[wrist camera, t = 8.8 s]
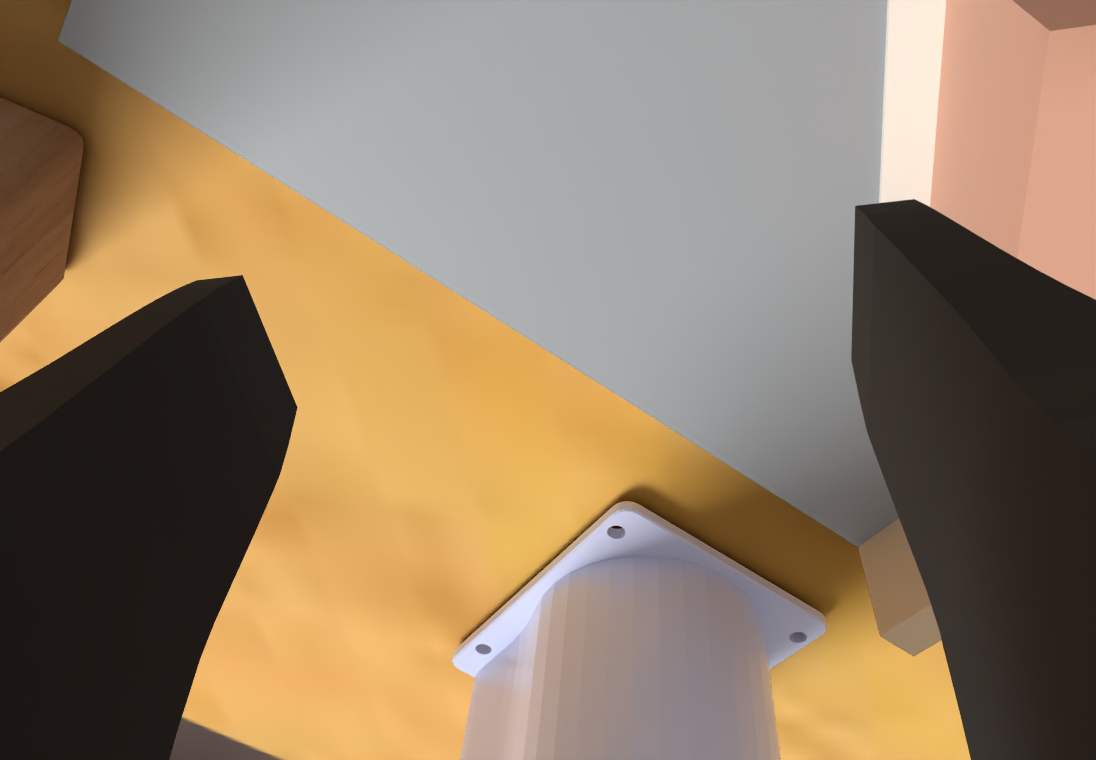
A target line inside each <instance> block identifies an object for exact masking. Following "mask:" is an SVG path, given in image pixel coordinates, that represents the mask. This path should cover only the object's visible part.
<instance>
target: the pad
mask: <svg viewBox="0 0 1096 760" xmlns="http://www.w3.org/2000/svg"><path fill="white" fill-rule="evenodd" d="M945 11H946V0H888V1H887V25H886V49H885V73H884V97H883V121H882V145H881V169H880V192H879V203H885V202H893V201H902V200H911V199H915V200H917V201H919V202H921V203H924V204H925V205H927V206H929V207H930V201H931V188H932V175H933V163H934V150H935V137H936V125H937V112H938V100H939V87H940V74H941V62H942V49H943V36H944V24H945Z"/></svg>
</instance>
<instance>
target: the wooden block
mask: <svg viewBox="0 0 1096 760" xmlns="http://www.w3.org/2000/svg"><path fill="white" fill-rule="evenodd" d="M83 149H84V142H83V138H82V135H81V134H79V133H78V132H77V131H76V130H75V129H73V128H71V127H69V126H67V125H65V124H62V123H60V122H58V121H55V120H53V119H51V118H48V117H46V116H44V115H42V114H39V113H37V112H35V111H32V110H30V109H28V108H26V107H23V106H21V105H19V104H16V103H14V102H12V101H9V100H7V99H5V98H3V97H0V342H1V341H2V340H3V339H4V338H5V337H6V336H7V335H8V334H9V333H10V332H11V331H12V330H13V329H14V328H15V327H16V326H17V325H18V324H19V323H20V322H21V321H22V320H23V319H24V318H25V317H26V316H27V315H28V314H29V313H30V312H31V311H32V310H33V309H34V308H35V307H36V306H37V305H38V304H39V303H40V302H41V301H42V300H43V299H44V298H45V297H46V296H47V295H48V294H49V293H50V292H51V291H52V290H53V289H54V288H55V287H56V286H57V285H58V284H59V283H60V282H61V281H62V280H63V278H64V272H65V266H66V259H67V253H68V246H69V240H70V233H71V227H72V220H73V214H74V208H75V201H76V195H77V188H78V182H79V175H80V169H81V162H82V156H83Z"/></svg>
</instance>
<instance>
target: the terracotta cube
mask: <svg viewBox="0 0 1096 760" xmlns="http://www.w3.org/2000/svg"><path fill="white" fill-rule="evenodd" d="M930 207H931V208H933V209H935V210H936V211H938V212H940V213H941V214H943V215H945V216H946V217H948V218H950V219H952V220H953V221H955V222H956V223H958V224H960V225H961V226H963V227H965V228H966V229H968V230H970V231H971V232H973V233H975V234H976V235H978V236H980V237H981V238H983V239H985V240H986V241H988V242H990V243H991V244H993V245H995V246H997V247H998V248H1000V249H1002V250H1003V251H1005V252H1007V253H1008V254H1010V255H1012V256H1014V257H1015V258H1017V259H1019V260H1021V261H1022V262H1024V263H1026V264H1028V265H1030V266H1031V267H1033V268H1035V269H1037V270H1039V271H1040V272H1042V273H1044V274H1046V275H1048V276H1050V277H1052V278H1054V279H1055V280H1057V281H1059V282H1061V283H1063V284H1065V285H1067V286H1069V287H1071V288H1073V289H1075V290H1077V291H1079V292H1081V293H1083V294H1085V295H1087V296H1089V297H1091V298H1093V299H1095V300H1096V0H946V11H945V24H944V36H943V49H942V62H941V74H940V87H939V100H938V112H937V125H936V137H935V150H934V163H933V175H932V188H931V201H930Z"/></svg>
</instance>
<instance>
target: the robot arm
mask: <svg viewBox="0 0 1096 760" xmlns="http://www.w3.org/2000/svg"><path fill="white" fill-rule="evenodd" d="M851 361H852V366H853V371H854V375H855V380H856V385H857V390H858V394H859V399H860V404H861V408H862V412H863V417H864V421H865V426H866V430H867V433H868V436H869V439H870V442H871V444H872V447H873V450H874V453H875V455H876V458H877V461H878V463H879V466H880V469H881V471H882V474H883V477H884V480H885V482H886V485H887V488H888V490H889V493H890V496H891V498H892V501H893V503H894V506H895V509H896V511H897V514H898V517H899V519H900V522H901V525H902V527H903V530H904V533H905V535H906V538H907V540H908V543H909V546H910V548H911V551H912V554H913V556H914V559H915V562H916V564H917V567H918V570H919V572H920V575H921V578H922V580H923V583H924V585H925V588H926V591H927V594H928V597H929V600H930V603H931V606H932V609H933V612H934V615H935V619H936V622H937V625H938V628H939V632H940V635H941V639H942V643H943V647H944V651H945V655H946V659H947V663H948V667H949V671H950V675H951V679H952V683H953V687H954V691H955V695H956V699H957V703H958V707H959V711H960V715H961V719H962V723H963V727H964V732H965V736H966V740H967V744H968V748H969V753H970V757H971V760H1096V300H1095V299H1093V298H1091V297H1089V296H1087V295H1085V294H1083V293H1081V292H1079V291H1077V290H1075V289H1073V288H1071V287H1069V286H1067V285H1065V284H1063V283H1061V282H1059V281H1057V280H1055V279H1054V278H1052V277H1050V276H1048V275H1046V274H1044V273H1042V272H1040V271H1039V270H1037V269H1035V268H1033V267H1031V266H1030V265H1028V264H1026V263H1024V262H1022V261H1021V260H1019V259H1017V258H1015V257H1014V256H1012V255H1010V254H1008V253H1007V252H1005V251H1003V250H1002V249H1000V248H998V247H997V246H995V245H993V244H991V243H990V242H988V241H986V240H985V239H983V238H981V237H980V236H978V235H976V234H975V233H973V232H971V231H970V230H968V229H966V228H965V227H963V226H961V225H960V224H958V223H956V222H955V221H953V220H952V219H950V218H948V217H946V216H945V215H943V214H941V213H940V212H938V211H936V210H935V209H933V208H931V207H929V206H927V205H925V204H924V203H921V202H919V201H917V200H915V199H911V200H902V201H893V202H885V203H876V204H867V205H858V206H855V232H854V272H853V311H852V350H851ZM296 411H297V406H296V403H295V401H294V398H293V396H292V393H291V391H290V389H289V386H288V384H287V381H286V379H285V377H284V374H283V372H282V369H281V367H280V365H279V362H278V360H277V357H276V355H275V352H274V350H273V348H272V345H271V343H270V340H269V338H268V336H267V333H266V331H265V328H264V326H263V324H262V321H261V319H260V316H259V314H258V311H257V309H256V307H255V304H254V302H253V299H252V297H251V295H250V292H249V290H248V287H247V285H246V283H245V280H244V278H243V275H241V276H232V277H224V278H215V279H206V280H197V281H195V282H192V283H190V284H187V285H185V286H183V287H180V288H178V289H176V290H174V291H172V292H170V293H168V294H166V295H164V296H162V297H161V298H159V299H157V300H155V301H153V302H152V303H150V304H148V305H146V306H144V307H143V308H141V309H139V310H138V311H136V312H134V313H132V314H131V315H129V316H127V317H126V318H124V319H122V320H121V321H119V322H118V323H116V324H114V325H113V326H111V327H109V328H108V329H106V330H104V331H103V332H101V333H99V334H98V335H96V336H95V337H93V338H91V339H90V340H88V341H86V342H85V343H83V344H81V345H80V346H78V347H77V348H75V349H73V350H72V351H70V352H68V353H67V354H65V355H63V356H62V357H60V358H59V359H57V360H55V361H54V362H52V363H50V364H49V365H47V366H45V367H44V368H42V369H40V370H38V371H37V372H35V373H33V374H31V375H30V376H28V377H26V378H24V379H23V380H21V381H19V382H18V383H16V384H14V385H12V386H11V387H9V388H7V389H5V390H4V391H2V392H0V760H169V759H170V755H171V751H172V748H173V744H174V740H175V737H176V733H177V730H178V727H179V724H180V721H181V717H182V714H183V711H184V708H185V705H186V702H187V699H188V695H189V692H190V689H191V686H192V683H193V680H194V676H195V673H196V670H197V667H198V664H199V661H200V658H201V655H202V653H203V650H204V648H205V645H206V642H207V640H208V637H209V635H210V632H211V630H212V627H213V625H214V622H215V620H216V618H217V616H218V613H219V611H220V609H221V607H222V605H223V602H224V600H225V598H226V596H227V593H228V591H229V589H230V587H231V584H232V582H233V580H234V578H235V576H236V573H237V571H238V569H239V567H240V564H241V562H242V560H243V558H244V556H245V553H246V551H247V549H248V547H249V545H250V542H251V540H252V538H253V536H254V533H255V531H256V529H257V527H258V524H259V522H260V520H261V518H262V515H263V513H264V511H265V508H266V506H267V504H268V501H269V499H270V497H271V495H272V492H273V490H274V487H275V485H276V483H277V480H278V478H279V475H280V472H281V469H282V465H283V462H284V458H285V455H286V451H287V448H288V444H289V440H290V436H291V432H292V428H293V424H294V419H295V415H296ZM612 526H620V527H622V528H620V529H615V528H611V527H612ZM826 628H827V626H826V621H825V617H824V615H823V614H822V613H821V612H819V611H817V610H816V609H814V608H812V607H811V606H809V605H807V604H806V603H804V602H802V601H801V600H799V599H797V598H796V597H794V596H792V595H791V594H789V593H787V592H786V591H784V590H782V589H780V588H779V587H777V586H775V585H774V584H772V583H770V582H769V581H767V580H765V579H764V578H762V577H760V576H759V575H757V574H755V573H754V572H752V571H750V570H749V569H747V568H745V567H744V566H742V565H740V564H738V563H737V562H735V561H733V560H732V559H730V558H728V557H727V556H725V555H723V554H722V553H720V552H718V551H717V550H715V549H713V548H712V547H710V546H708V545H707V544H705V543H703V542H702V541H700V540H698V539H696V538H695V537H693V536H691V535H690V534H688V533H686V532H685V531H683V530H681V529H680V528H678V527H676V526H675V525H673V524H671V523H670V522H668V521H666V520H665V519H663V518H661V517H660V516H658V515H656V514H654V513H653V512H651V511H649V510H648V509H646V508H644V507H643V506H641V505H639V504H637V503H635V502H631V501H623V502H619V503H617V504H615V505H614V506H613V507H612V508H610V509H609V510H608V511H607V512H606V513H605V514H604V515H603V516H602V517H601V518H599V519H598V520H597V521H596V522H595V523H594V524H593V525H592V526H591V527H589V528H588V529H587V530H586V531H585V532H584V533H583V534H582V535H581V536H580V537H578V538H577V539H576V540H575V541H574V542H573V543H572V544H571V545H570V546H569V547H567V548H566V549H565V550H564V551H563V552H562V553H561V554H560V555H559V556H557V557H556V558H555V559H554V560H553V561H552V562H551V563H550V564H549V565H548V566H546V567H545V568H544V569H543V570H542V571H541V572H540V573H539V574H538V575H537V576H535V577H534V578H533V579H532V580H531V581H530V582H529V583H528V584H527V585H526V586H524V587H523V588H522V589H521V590H520V591H519V592H518V593H517V594H516V595H514V596H513V597H512V598H511V599H510V600H509V601H508V602H507V603H506V604H505V605H503V606H502V607H501V608H500V609H499V610H498V611H497V612H496V613H495V614H494V615H492V616H491V617H490V618H489V619H488V620H487V621H486V622H485V623H484V624H483V625H481V626H480V627H479V628H478V629H477V630H476V631H475V632H474V633H473V634H471V635H470V636H469V637H468V638H467V639H466V640H465V641H464V642H463V643H462V644H460V645H459V646H458V647H457V648H456V649H455V651H454V654H453V664H454V666H455V667H456V668H458V669H459V670H461V671H463V672H465V673H467V674H469V675H471V676H473V677H475V678H474V684H473V690H472V695H471V701H470V707H469V712H468V718H467V724H466V729H465V735H464V740H463V746H462V752H461V757H460V760H781V758H780V750H779V742H778V734H777V727H776V719H775V711H774V703H773V695H772V687H771V679H770V671H769V670H770V669H771V668H773V667H774V666H776V665H777V664H779V663H780V662H782V661H783V660H785V659H786V658H788V657H790V656H791V655H793V654H794V653H796V652H797V651H799V650H800V649H802V648H803V647H805V646H806V645H808V644H809V643H811V642H812V641H814V640H815V639H817V638H818V637H820V636H821V635H823V634H824V633H825V632H826Z"/></svg>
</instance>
